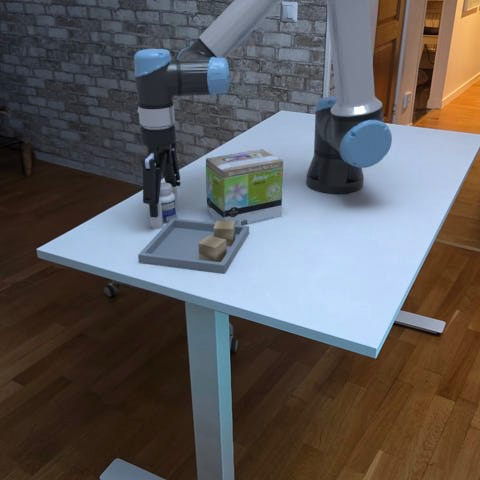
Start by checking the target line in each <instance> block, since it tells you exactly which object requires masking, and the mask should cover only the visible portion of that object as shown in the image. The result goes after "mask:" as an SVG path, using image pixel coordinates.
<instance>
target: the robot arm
mask: <svg viewBox="0 0 480 480" xmlns="http://www.w3.org/2000/svg"><path fill="white" fill-rule="evenodd" d="M283 1H284V0H233V1H232V2H231V4H229V5H228V6H227V8H225V9H224V11H223V12H221V14H220V15H219V16H217V18H216V19H214V21H213V22H212V23H211V24H210V25H209V26H208V27H207V28H206V29H204V31H203V32H202V33H201V34H200V35H199V36H198V38H197V39H196V40H195V41H194V42H193V43H191V45H190V46H187V47H185V48H183V49H182V50H180V52H179V53H178V55H177V57H176V58H172V56H171V53H170V50H167V49H165V48H164V49H163V48H147V49H146V48H145V49H142V50H141V49H140V50H137V52H136V53H135V54H134V57H133V60H134V61H133V62H134V63H133V64H134V77H135V79H134V80H135V87H136V98H137V106H138V108H137V113H138V115H139V116H138V118H139V124H140V127H139V131H140V141H141V143H142V144H143V145H144V146H146V147H147V151H148V152H147V158H142V159H141V165H142V204H146V205H148V210H149V211H148V212H149V213H148V214H149V222H150V228H154V229H163V227H164V224H163V220H162V207H161V202H159V196H160V186H161V183H162V177H163V179H164V181H165V182H164V183H169V184H171V185H172V193H174V195H175V200H176V213H178V212H179V202H178V191H177V190H178V188H177V187H180V186H181V184H182V183H181V181H180V180H181V174H180V169H179V162H178V156H177V142H176V140H177V137H176V135H177V134H176V126H175V122H176V119H175V118H176V117H175V107H174V105H175V103H174V97H187V96H189V97H190V96H193V97H194V96H215V95H220V94H226V93H227V92H228V90H229V89H230V68H229V67H230V66H229V63H228V61H227V59H226V58H228V56H229V55H230V54H231V53H233V51H235V49H237V47H238V46H240V44H241V43H242V42H244V40H245V39H247V37H248V36H249V35H250V34H251V33H252V32H253V31H254V30H255V29H256V28H257V27H258V26H259V25H260V24H261V23H262V22H263V21H264V20H265V19H266V18H267V17H268V16H269V15H270V14H271V13H272V12H273V11H274V10H275V9H276V8H277V7H278V6H279V5H280V4H281V3H283ZM326 9H327V18H328V30H329V39H330V48H331V49H330V51H331V59H332V70H333V80H334V93H335V96H324V97H321V98H319V99H318V100H317V101H316V104H315V111H314V115H315V117H314V142H313V143H314V144H313V145H314V146H313V157H312V159H311V162H310V164H309V167H308V169H307V172H306V176H305V177H306V181H305V182H306V185H307V187H308V188H310V189H312V190H314V191H316V192H321V193H325V194H326V193H327V194H349V193H353V192H357V191H359V190H360V189H362V188H363V186H364V181H365V180H364V179H365V177H364V171H363V169H366V168H369V167H373V166H374V165H377V164H378V163H380V162H381V161H382V160H383V159H384V158H385V156H387V154H388V153H389V151H390V149H391V147H392V143H393V136H392V132H391V130H390V128H389V126H388V125H387V124H386V123H385V122H384V110H383V109H384V108H383V103H382V101H381V100H379V99H378V98H377V97H376V94H375V92H376V91H375V79H374V67H373V66H374V63H373V50H372V49H373V48H372V35H371V34H372V33H371V19H370V18H371V17H370V2H369V0H326ZM362 168H363V169H362ZM162 175H163V176H162Z"/></svg>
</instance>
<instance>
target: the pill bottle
mask: <svg viewBox="0 0 480 480" xmlns="http://www.w3.org/2000/svg"><path fill="white" fill-rule="evenodd" d="M159 202H161V207H162V220H163V225H164V224H165V225H166V224H167V223H168V222H169V221H170V220H171V219H172V218H176V219H178V216H177V215H178V214H177V213H178V212H176V200H175V195H174V193H172V185H171V184H169V183H166V182H161V186H160V196H159Z"/></svg>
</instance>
